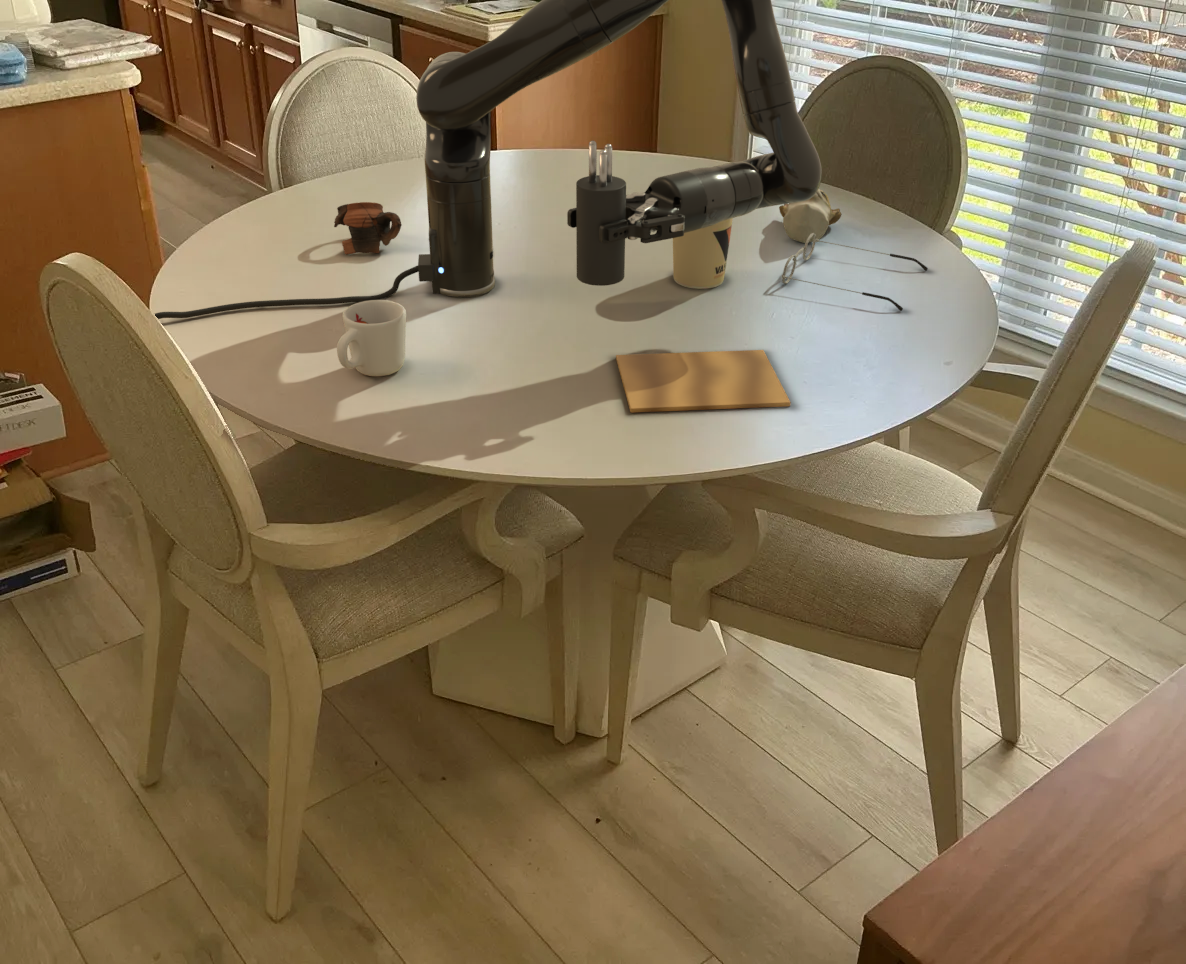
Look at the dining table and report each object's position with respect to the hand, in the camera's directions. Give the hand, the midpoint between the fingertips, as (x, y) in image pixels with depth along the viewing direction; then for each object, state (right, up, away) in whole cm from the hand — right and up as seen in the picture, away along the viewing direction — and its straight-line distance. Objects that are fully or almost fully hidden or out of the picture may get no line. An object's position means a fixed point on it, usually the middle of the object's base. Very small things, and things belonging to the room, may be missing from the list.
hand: (585, 226), depth 140 cm
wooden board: (+15, -18, +9) cm, 25 cm away
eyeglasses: (+41, 0, +38) cm, 56 cm away
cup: (-28, -17, +10) cm, 34 cm away
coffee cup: (+17, 0, +38) cm, 42 cm away
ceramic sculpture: (+37, +11, +56) cm, 68 cm away
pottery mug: (-35, +7, +48) cm, 60 cm away
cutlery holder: (+2, -5, +5) cm, 7 cm away
